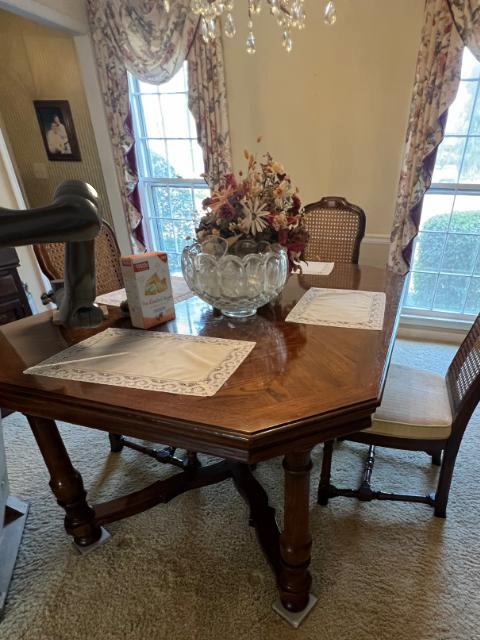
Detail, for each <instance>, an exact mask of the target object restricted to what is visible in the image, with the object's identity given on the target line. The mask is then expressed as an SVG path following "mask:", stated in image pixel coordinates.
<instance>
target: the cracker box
mask: <svg viewBox="0 0 480 640" xmlns="http://www.w3.org/2000/svg"><path fill="white" fill-rule="evenodd" d="M118 261H119V266H120V271H121V277H122V282H123V287H124V290H125V295H126V299H127V301H128V306H129V311H130V316H131V317H130V320H131V324H132V327H133V328H138V329H142V330H147V329H150V328H152V327H155V326H158V325H161V324H163V323H166V322H169V321H171V320H173V319H176V318H177V315H176V314H177V313H176V308H175V300H174V294H173V287H172V279H171V273H170V272H171V271H170V264H169V258H168V253H167V252H163V251H149V252H148V251H147V252H143V253H137V254H130V255H125V256H119V257H118Z"/></svg>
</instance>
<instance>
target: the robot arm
mask: <svg viewBox="0 0 480 640" xmlns="http://www.w3.org/2000/svg"><path fill="white" fill-rule="evenodd" d="M99 195H100V194H98V192H97V190H96V189H95V188H93V187H92V185H90V184H89V183H87V182H85V181H84V180H80V179H76V178H68V179H64V180H62V181H60V183H59V184H57V186H56V188H55V189H54V191H53V195H52V202H51V203H50V204H48V205H43V206H40V207H39V206H38V207H33V208H26V209H13V208H7V207H4V206H1V205H0V250H5V249H12V248H20V247H28V246H34V245H35V246H36V245H45V244H64V255H63V279H64V286H65V288H61V289H59V290H57V291H54V292H53V290H52V289H49V291H47V292H42V293H41V295H40V296H39V297H40V301H41V304H42V306H47V305H48V304H50V303H52V304H54V305H55V307H56V308H57V310H59V320H60V322H61V325H62V326H63V327H64V328H66V329H68V330H84V329H85V330H86V329H95V328H99V327H100V326H101V325H103V323H104V321H105V319H104V313H103V311H102V309H101V307H100V306H101V305H100V304H99V303H97V301H96V299H97V264H96V238H97V237H98V236H99V235H100V234H101V232H102V229H103V218H104V217H103V216H104V215H103V213H104V208H103V207H104V206H103V203H102V200H101V197H100V196H99Z"/></svg>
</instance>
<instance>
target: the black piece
mask: <svg viewBox="0 0 480 640" xmlns="http://www.w3.org/2000/svg"><path fill="white" fill-rule="evenodd" d="M49 285H50V287H51V290H52V291H53V292H54V291H57V290H59V289H61V288H65V286H64V278H63V279H62V278H59V279H53V280H50V281H49Z"/></svg>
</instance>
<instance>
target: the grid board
mask: <svg viewBox="0 0 480 640" xmlns="http://www.w3.org/2000/svg"><path fill="white" fill-rule="evenodd" d="M99 306H100V307H101V309H102V311H103V313H104V320H108V319H110V316H109V311H108V308H107V305H106V304H103V305H99ZM52 323H53V326H61V325H62V324H61V322H60V320H59V309H57V310H54V311H53V317H52Z"/></svg>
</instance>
